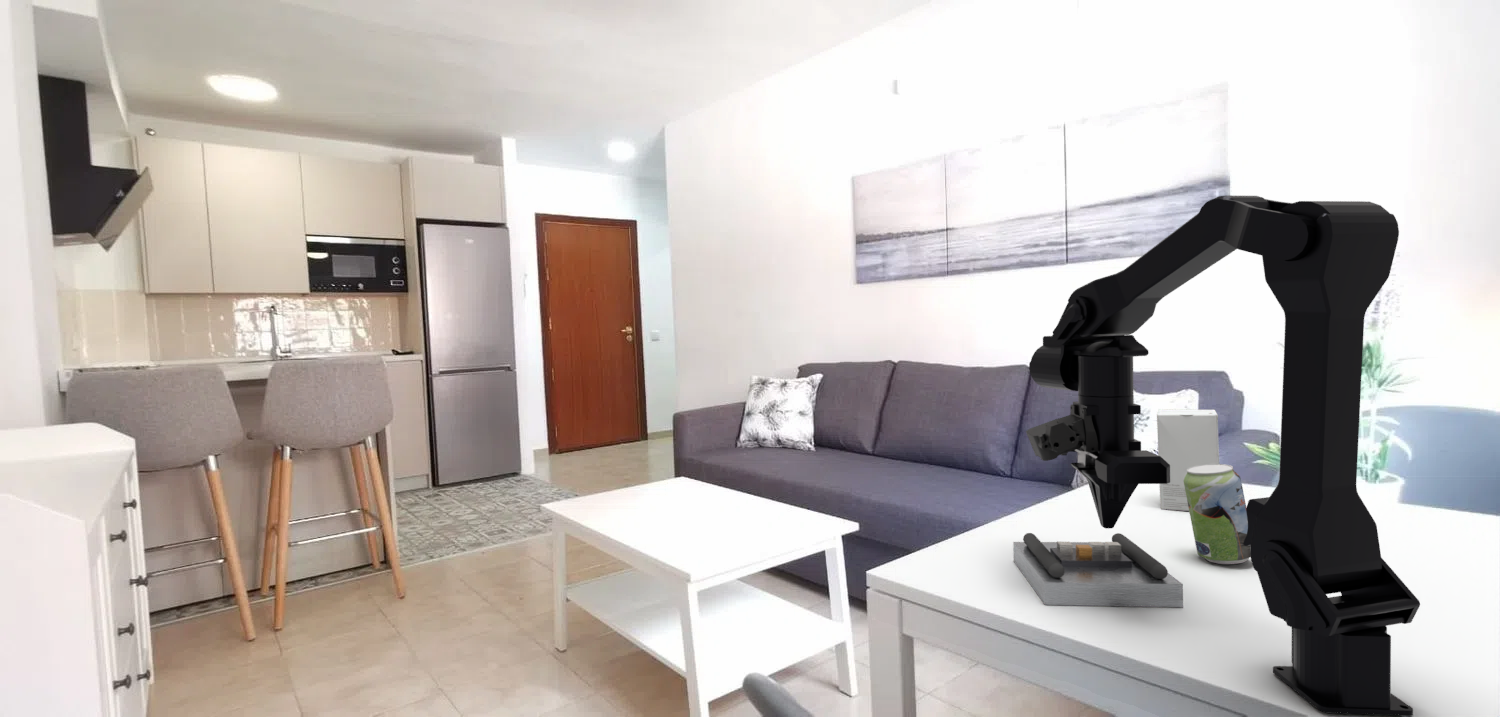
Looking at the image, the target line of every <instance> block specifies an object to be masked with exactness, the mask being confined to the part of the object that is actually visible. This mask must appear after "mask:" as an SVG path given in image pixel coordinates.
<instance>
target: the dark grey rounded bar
mask: <svg viewBox="0 0 1500 717" xmlns="http://www.w3.org/2000/svg"><path fill="white" fill-rule="evenodd" d="M1022 538H1023V539H1022V540H1023V541H1022V542H1024V543H1025V544H1026V545H1027V546H1028V548H1029V549H1030V550H1031V551H1032V552H1033V554H1034V555H1035V556H1036V557H1037V559H1038V560H1039V561H1040V562H1041V563H1042V565H1043V566H1044V567H1045V568H1046V570H1047V571H1048V572H1049V573H1050V574H1051V575H1052V576H1053V577H1055V578H1060V577H1062V576H1063V575H1064V572H1065V570H1064V567H1063V566H1062V565H1061V564H1060V563H1059V562H1058V560H1057V559H1056V558H1055V557H1054V556H1053V555H1052V554H1051V553H1050V552H1049V550H1048V549H1047V548H1046V547H1045V546H1044V545H1043V544H1042V543H1041V542H1042V541H1041V540H1040V539H1039V538H1038V537H1037V536H1036V535H1035V534H1034V533H1031V532H1028V533H1027V532H1026V533H1025V534H1024V536H1023V537H1022Z"/></svg>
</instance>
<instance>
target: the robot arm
mask: <svg viewBox="0 0 1500 717" xmlns="http://www.w3.org/2000/svg"><path fill="white" fill-rule="evenodd" d="M1399 235H1400V230H1399V222H1398V220H1397V218H1396V217H1395V215H1394V213H1390V212H1389V211H1388V210H1387V209H1385V208H1384V207H1383V206H1382V205H1381V204H1377V203H1375V202H1371V201H1364V200H1363V201H1362V200H1361V201H1359V200H1357V201H1355V200H1353V201H1352V200H1350V201H1349V200H1348V201H1345V200H1344V201H1341V200H1340V201H1339V200H1337V201H1336V200H1334V201H1332V200H1331V201H1330V200H1329V201H1328V200H1327V201H1326V200H1299V201H1295V202H1285V201H1279V200H1272V199H1267V198H1264V197H1262V196H1259V195H1219V196H1216V197H1214V198H1211V199H1210V200H1208V201H1206V202H1205V203H1204V204H1203V205H1202V206H1201V208H1200V209H1199V212H1198V213H1197V214H1195V215H1194V216H1192V217H1191V218H1190V219H1188V220H1187V221H1186V222H1184V224H1182V225H1181V226H1179V227H1178V228H1177V229H1176V230H1174V231H1173V232H1172V233H1170V234H1169V235H1168V236H1166V237H1165V238H1164V239H1162V240H1161V241H1160V242H1158V243H1157V244H1156V245H1155V246H1153V247H1152V248H1150V249H1149V250H1148V251H1147V252H1145V253H1144V254H1143V255H1142V256H1140V257H1139V258H1137V259H1136V260H1135V261H1133V263H1131V264H1129V265H1128V266H1127V267H1126V268H1124V269H1123V270H1120V271H1118V272H1117V273H1114V274H1111V275H1110V274H1109V275H1107V276H1104V277H1101V278H1098V279H1095V280H1092V281H1089V282H1088V283H1086V284H1084V285H1081V286H1080V287H1078V288H1076V289H1075V290H1074V291H1073V292H1072V293H1071V294H1070V296H1069V297H1068V300H1067V302H1068V303H1067V304H1066V306H1065V308H1064V310H1063V312H1062V314H1061V316H1060V318H1059V321H1058V322H1057V325H1056V327H1055V328H1054V330H1053V331H1052V335H1044V336H1042V345H1041V346H1040V347H1038V348H1037V349H1036V350H1035V351H1034V353H1033V355H1032V356H1031V359H1030V361H1029V366H1028V368H1029V374H1030V376H1031V379H1032V380H1033V382H1035V384H1037V385H1038V386H1040V387H1041V388H1049V389H1057V390H1063V391H1064V390H1065V391H1071V392H1072V391H1073V392H1077V393H1078V396H1077V399H1078V400H1077V401H1072V404H1070V406H1069V407H1070V408H1069V410H1070V413H1069V415H1065V416H1062V417H1059V418H1056V419H1052V420H1049V421H1047V422H1045V423H1042V424H1039V425H1035V426H1033V427H1031V428H1028V429H1027V430H1026V431H1025V433H1026V436H1027V438H1028V440H1029V443H1030V445H1031V448H1032V451H1033V453H1034V455H1035V456H1036V457H1039V459H1040V460H1042V461H1043V462H1048V461H1051V460H1056V459H1057V458H1058V457H1059V456H1068V453H1069V452H1071V453H1072V452H1074V453H1077V462H1071V463H1070V466H1071V467H1073V468H1074V469H1075V470H1076V471H1078V472H1079V473H1080V474H1081V476H1083V477H1084V478H1085V479H1086V481H1087V484H1088V487H1089V489H1090V493H1091V496H1092V500H1093V503H1094V506H1095V510H1096V513H1097V517H1098V520H1099V523H1100V526H1101V527H1102V528H1104V529H1114V528H1115V526H1116V525H1117V524H1116V523H1117V522H1118V520H1119V519H1120V516H1121V514H1122V513H1123V511H1124V509H1125V507H1126V506H1127V503H1129V500H1130V499H1131V497H1132V495H1133V494H1134V492H1135V490H1136V489H1137V487H1138V486H1139V485H1146V484H1147V485H1151V484H1152V485H1157V484H1158V485H1160V484H1167V483H1170V465H1169V464H1168V463H1167V462H1166V461H1165V460H1164V459H1163V458H1162V457H1161V456H1158V454H1157V453H1153V452H1151V451H1149V450H1142V441H1140V440H1138V439H1136V438H1135V415H1141V414H1142V412H1141V410H1142V408H1141V407H1142V406H1141V405H1140V404H1136V403H1135V402H1134V401H1135V400H1134V399H1135V398H1134V358H1135V357H1147V356H1148V355H1149V354H1150V353H1149V349H1147V347H1145V346H1144V345H1143V344H1142V343H1140V342H1139V341H1138V340H1136V338H1135V336H1134V335H1133V334H1134V333H1136V332H1137V331H1138V330H1139V329H1141V327H1143V325H1144V324H1145V323H1147V322H1148V321H1149V320H1150V319H1151V318H1152V317H1153V315H1154V314H1155V311H1156V307H1157V305H1158V303H1159V302H1160V301H1161V300H1163V298H1164V297H1167V296H1168V295H1169V294H1171V293H1172V292H1174V291H1175V290H1177V289H1179V288H1180V287H1181V286H1183V285H1184V284H1186V283H1187V282H1189V281H1190V280H1192V279H1194V278H1195V277H1197V276H1198V275H1199V274H1201V273H1203V272H1204V271H1205V270H1207V269H1209V268H1210V267H1212V266H1214V265H1215V264H1216V263H1218V262H1219V261H1221V260H1222V259H1224V258H1226V257H1227V256H1229V255H1230V254H1232V253H1233V252H1234V251H1237V250H1240V251H1243V252H1246V253H1251V254H1254V255H1255V254H1256V255H1258V256H1261V258H1262V264H1263V272H1264V279H1265V283H1266V284H1267V285H1268V288H1270V291H1271V292H1272V294H1273V295H1274V297H1275V299H1276V300H1277V302H1278V304H1279V306H1280V307H1281V309H1282V310H1283V313H1284V319H1285V320H1284V344H1283V345H1284V346H1283V367H1282V368H1283V370H1282V391H1281V392H1282V395H1281V397H1282V398H1281V423H1280V447H1279V448H1280V449H1279V474H1278V475H1279V476H1278V482H1277V484H1276V487H1275V488H1274V490H1273V491H1272V493H1271V494H1270V495H1269V497H1267V496H1266V497H1258V498H1250V499H1249V500H1248V501H1247V504H1246V513H1247V521H1248V530H1247V536H1246V538H1245V540H1244V542H1243V544H1244V545H1245V546H1250V545H1251V547H1250V556H1251V557H1250V561H1251V564H1252V568H1253V569H1254V570H1255V571H1256V574H1257V576H1258V579H1259V584H1260V585H1261V588H1262V592H1263V595H1264V597H1265V601H1266V604H1267V608H1268V610H1269V613H1270V614H1271V616H1273V617H1275V618H1278V619H1282V620H1283V621H1284V622H1285V624H1286V626H1287V627H1290V628H1291V665H1292V666H1285V665H1275V666H1273V667H1272V673H1273V674H1274V675H1275V676H1276V677H1277V678H1279V679H1280V680H1281V681H1282V682H1284V683H1285V684H1286V685H1288V686H1289V688H1292V690H1293V691H1295V692H1296V693H1298V694H1299V695H1300V696H1301V697H1302V698H1303V699H1304V700H1306V701H1307V702H1309V704H1310V705H1312V706H1313V707H1314V708H1315V709H1316V710H1318V711H1321V712H1323V713H1328V714H1346V715H1347V714H1348V715H1349V714H1350V715H1351V714H1352V715H1354V714H1355V715H1376V716H1377V715H1379V716H1400V717H1401V716H1406V717H1412V716H1414V708H1413V707H1412V706H1410V705H1409V704H1408V703H1406V702H1405V701H1403V700H1402V699H1400V698H1398V697H1397V696H1396V695H1394V694H1392V693H1391V690H1392V689H1391V687H1392V686H1391V683H1392V682H1391V676H1392V673H1391V671H1392V670H1391V669H1392V667H1391V666H1392V663H1391V662H1392V661H1391V660H1392V658H1391V657H1392V635H1390V634H1389V633H1388V626H1393V625H1399V624H1404V625H1406V624H1410V623H1412V622H1413V620H1414V618H1415V617H1416V614H1417V612H1418V610H1419V609H1420V606H1421V603H1420V600H1419V598H1417V597H1416V596H1415V594H1414V593H1413V592H1412V591H1411V589H1409V587H1407V585H1406V584H1405V582H1403V580H1401V578H1400V577H1399V576H1398V575H1397V574H1396V573H1395V572H1394V570H1393V569H1392V568H1391V567H1390V565H1389V564H1388V563H1387V562H1386V561H1385V560H1384V559H1383V557H1382V555H1381V547H1380V542H1379V533H1378V528H1377V523H1376V522H1375V519H1374V518H1373V516H1372V515H1371V513H1370V512H1369V509H1368V508H1367V507H1366V505H1365V503H1364V501H1363V499H1362V498H1361V496H1360V495H1359V493H1358V488H1357V475H1358V454H1359V437H1360V436H1359V431H1360V410H1361V391H1362V372H1363V371H1362V370H1363V369H1362V368H1363V351H1364V350H1363V348H1364V344H1363V343H1364V330H1365V329H1364V327H1365V325H1364V324H1365V316H1366V312H1367V310H1368V309H1369V307H1370V306H1371V304H1372V303H1373V301H1374V300H1375V298H1376V297H1377V295H1378V294H1379V293H1380V290H1381V289H1382V288H1383V287H1384V285H1385V283H1387V281H1388V278H1390V277H1389V276H1390V274H1391V270H1392V265H1393V261H1394V258H1395V254H1396V249H1397V245H1398V241H1399ZM1337 593H1340V595H1336V596H1330V597H1328V595H1331V594H1337Z"/></svg>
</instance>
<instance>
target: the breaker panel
mask: <svg viewBox="0 0 1500 717" xmlns="http://www.w3.org/2000/svg"><path fill="white" fill-rule="evenodd" d="M1040 542H1041V543H1042V544H1043V545H1044V546H1045V547H1046V548H1047V549H1048V550H1049V552H1050V553H1051V554H1052V555H1053V556H1054V557H1055V558H1056V559H1057V560H1058V562H1059V563H1060V564H1061V565H1062V566H1063V567H1064V570H1065V572H1064V575H1063V576H1062V577H1060V578H1055V577H1053V576H1052V575H1051V574H1050V573H1049V572H1048V571H1047V570H1046V568H1045V567H1044V566H1043V565H1042V563H1041V562H1040V561H1039V560H1038V559H1037V557H1036V556H1035V555H1034V554H1033V552H1032V551H1031V550H1030V549H1029V548H1028V546H1027V545H1026V544H1025V543H1024V541H1013V542H1012V543H1013V544H1012V547H1013V553H1012V554H1013V562H1014V563H1015V565H1016V566H1017V568H1018V569H1019V570H1020V572H1021V574H1023V577H1024V578H1025V579H1026V580H1027V581H1028V584H1029V585H1030V587H1032V589H1033V590H1034V591H1035V593H1036V594H1037V596H1038V597H1039V599H1040V600H1041V602H1042V603H1043V604H1044V605H1045V606H1085V607H1086V606H1088V607H1089V606H1093V607H1095V606H1096V607H1136V608H1137V607H1143V608H1144V607H1146V608H1147V607H1148V608H1184V587H1183V586H1184V584H1183V583H1182V582H1180V580H1178V579H1177V578H1176V577H1175V576H1173V575H1172V574H1170V573H1169V572H1168V575H1167V577H1166V578H1164V579H1157V578H1155V577H1154V576H1152V575H1151V574H1150V573H1149V572H1147V571H1146V570H1145V569H1144V568H1143V567H1141V566H1140V565H1139V564H1138V563H1136V562H1135V561H1134V560H1133V559H1132V558H1130V557H1129V556H1128V555H1127V554H1125V553H1124V552H1123V551H1122V550H1121V545H1120V544H1119V543H1118V542H1112V541H1104V542H1103V541H1086V542H1084V541H1083V542H1082V541H1080V542H1079V541H1072V542H1071V541H1040Z"/></svg>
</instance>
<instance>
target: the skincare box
mask: <svg viewBox="0 0 1500 717" xmlns="http://www.w3.org/2000/svg"><path fill="white" fill-rule="evenodd" d="M1156 412H1157V413H1156V427H1157V428H1156V429H1157V455H1158V456H1161V457H1162V458H1163V459H1164V460H1165V461H1166V462H1167V463H1168V464H1169V465H1170V483H1167V484H1159V499H1160V500H1159V501H1160V504H1159V505H1160V510H1166V509H1167V510H1168V511H1183V512H1189V507H1188V502H1187V497H1186V492H1185V486H1184V478H1185V476H1186V474H1187V469H1188V468H1190V467H1193V466H1198V465H1206V464H1220V451H1219V449H1220V448H1219V447H1220V446H1219V444H1220V443H1219V422H1218V420H1219V415H1218V413H1217V411H1216V410H1215V409H1176V408H1174V409H1163V408H1162V409H1161V408H1158V410H1157V411H1156Z"/></svg>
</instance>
